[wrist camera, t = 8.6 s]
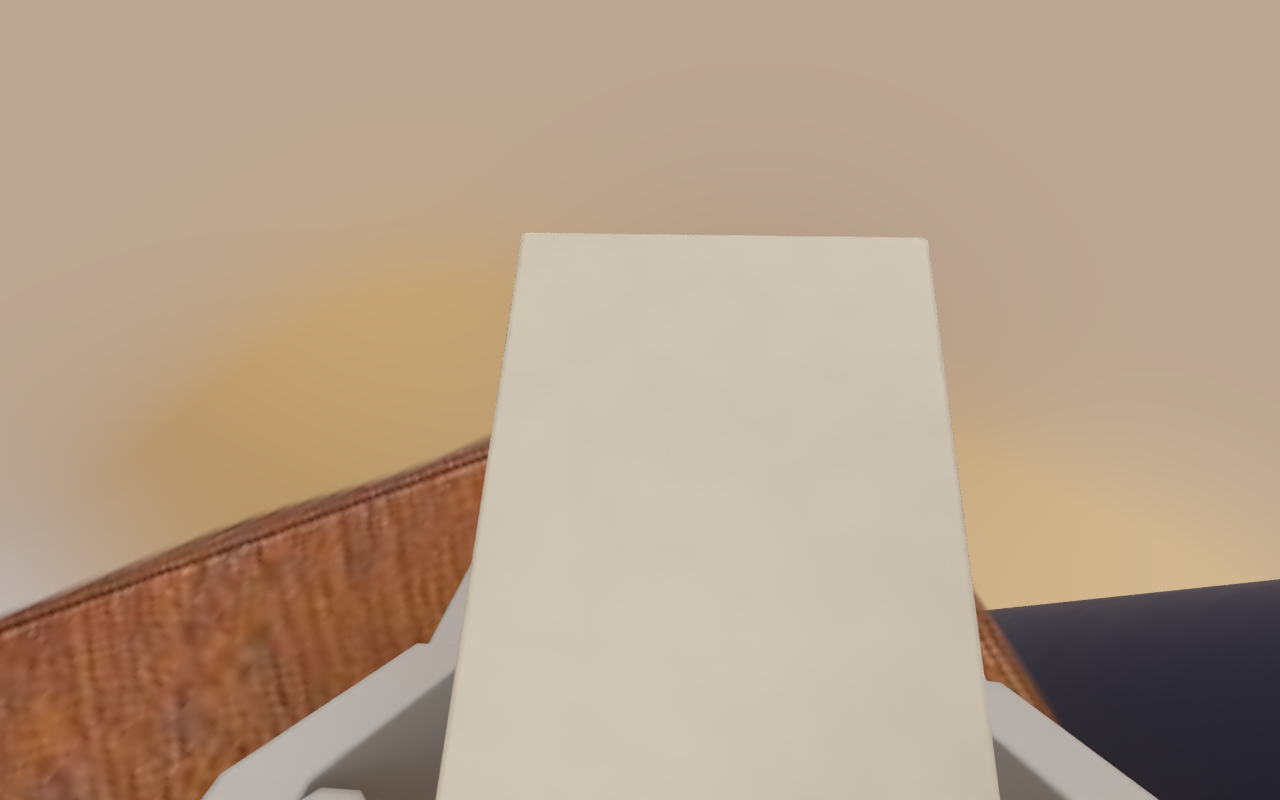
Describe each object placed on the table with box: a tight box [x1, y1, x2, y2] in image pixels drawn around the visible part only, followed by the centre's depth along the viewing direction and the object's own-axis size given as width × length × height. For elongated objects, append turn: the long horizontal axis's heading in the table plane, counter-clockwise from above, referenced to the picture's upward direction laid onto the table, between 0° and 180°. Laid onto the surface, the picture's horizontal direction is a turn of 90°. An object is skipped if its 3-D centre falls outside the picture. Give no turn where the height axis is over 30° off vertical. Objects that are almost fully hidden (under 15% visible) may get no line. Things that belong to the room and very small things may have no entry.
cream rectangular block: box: [436, 233, 1000, 800], centre depth 9 cm, size 3×6×12 cm, turn 177°
